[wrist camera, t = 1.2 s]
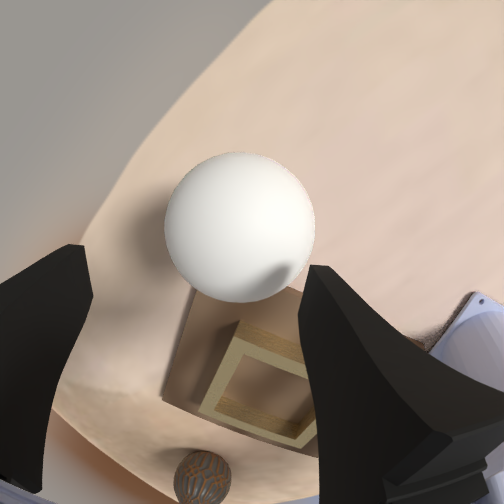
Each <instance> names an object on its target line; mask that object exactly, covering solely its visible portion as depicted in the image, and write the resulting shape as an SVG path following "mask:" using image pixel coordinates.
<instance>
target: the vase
mask: <svg viewBox="0 0 504 504" xmlns="http://www.w3.org/2000/svg"><path fill="white" fill-rule="evenodd" d="M230 486H231V471H230V468H229V466H228V464H227V463H226V462H225V460H224V459H223V458H222V457H220V456H218V455H216V454H214V453H211V452H206V451H199V452H195V453H192V454H190V455H188V456H187V457H186V458H184V459H183V460H182V462H181V463H180V464H179V466H178V468H177V470H176V472H175V475H174V491H175V493H176V496H177V498H178V501H179V504H220V503H221V502H222V501H223V500H224V498H225V497H226V495H227V494H228V492H229V489H230Z"/></svg>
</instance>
